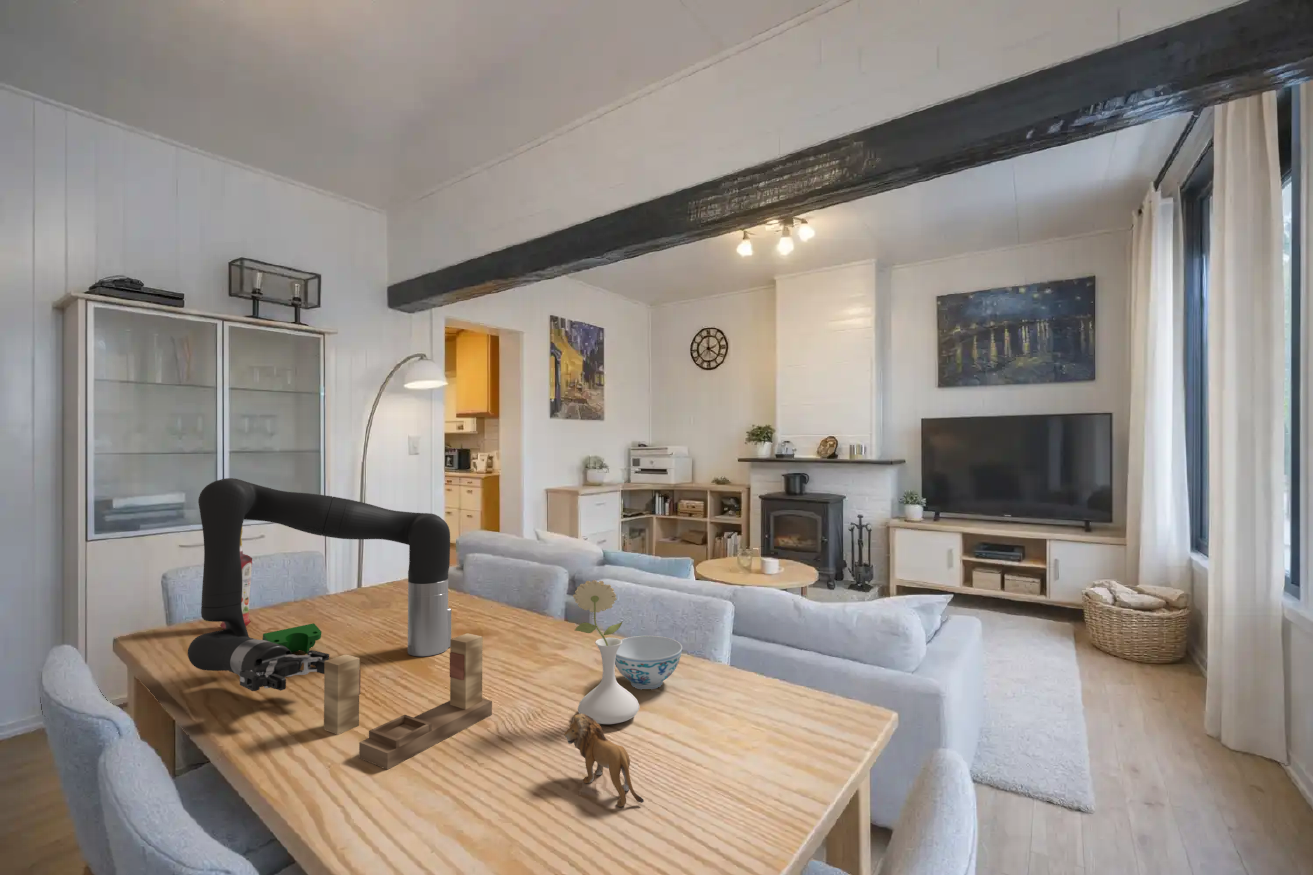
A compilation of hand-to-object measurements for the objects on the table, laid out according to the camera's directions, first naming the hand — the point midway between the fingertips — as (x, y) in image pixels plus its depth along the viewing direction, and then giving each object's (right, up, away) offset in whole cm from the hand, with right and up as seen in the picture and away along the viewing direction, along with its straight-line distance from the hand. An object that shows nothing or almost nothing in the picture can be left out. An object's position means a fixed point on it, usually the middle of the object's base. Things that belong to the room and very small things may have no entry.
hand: (307, 676), depth 112 cm
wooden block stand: (+26, -7, -8) cm, 28 cm away
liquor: (-51, -8, +53) cm, 74 cm away
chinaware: (+63, -8, +15) cm, 65 cm away
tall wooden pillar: (+9, -7, -5) cm, 13 cm away
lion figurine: (+57, -7, -24) cm, 62 cm away
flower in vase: (+55, -7, -1) cm, 56 cm away
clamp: (-23, -8, +32) cm, 40 cm away
